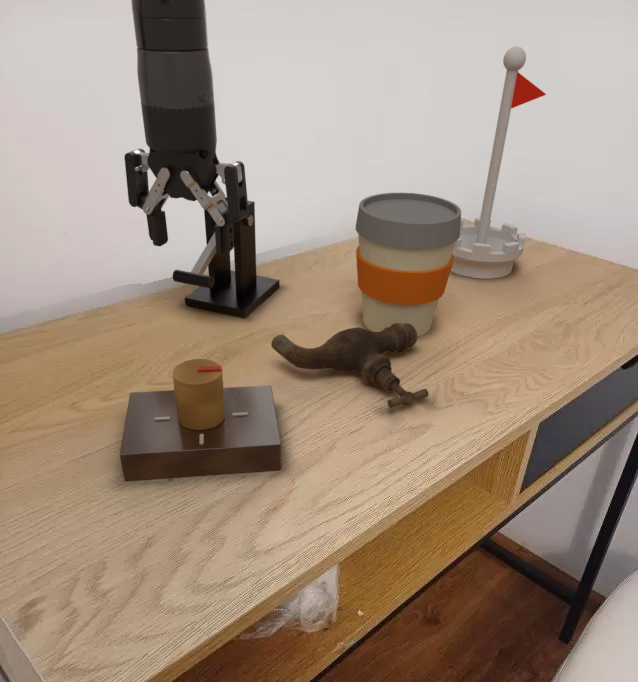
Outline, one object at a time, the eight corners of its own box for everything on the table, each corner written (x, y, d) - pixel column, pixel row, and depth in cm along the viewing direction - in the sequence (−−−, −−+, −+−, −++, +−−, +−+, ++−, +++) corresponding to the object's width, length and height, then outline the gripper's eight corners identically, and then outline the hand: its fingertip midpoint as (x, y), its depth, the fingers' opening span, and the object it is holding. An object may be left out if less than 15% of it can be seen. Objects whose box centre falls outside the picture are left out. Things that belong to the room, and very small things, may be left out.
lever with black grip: (211, 293, 78) (206, 279, 76) (176, 286, 80) (169, 272, 78) (253, 220, 84) (249, 205, 82) (219, 214, 85) (215, 199, 83)
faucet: (383, 332, 82) (463, 399, 73) (269, 361, 73) (344, 441, 64) (391, 299, 79) (476, 365, 70) (273, 325, 70) (352, 404, 61)
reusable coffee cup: (411, 296, 91) (425, 188, 83) (464, 334, 82) (485, 217, 74) (333, 310, 87) (338, 197, 78) (379, 352, 78) (391, 230, 69)
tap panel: (124, 481, 57) (119, 453, 55) (134, 417, 65) (129, 390, 63) (281, 470, 59) (281, 443, 57) (271, 409, 67) (271, 383, 65)
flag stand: (420, 267, 100) (450, 45, 83) (456, 244, 109) (489, 39, 92) (499, 288, 95) (549, 54, 77) (530, 262, 103) (581, 47, 86)
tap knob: (177, 431, 58) (171, 382, 55) (178, 404, 62) (172, 356, 59) (225, 428, 59) (222, 379, 56) (224, 402, 63) (221, 354, 59)
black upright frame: (245, 318, 84) (241, 221, 77) (185, 305, 87) (175, 210, 79) (279, 287, 92) (279, 196, 85) (224, 276, 95) (219, 187, 88)
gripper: (255, 98, 68) (259, 248, 77) (140, 87, 72) (157, 231, 81) (221, 110, 62) (230, 270, 71) (97, 97, 66) (122, 250, 75)
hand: (191, 249), depth 76 cm, fingers open, 8 cm apart
